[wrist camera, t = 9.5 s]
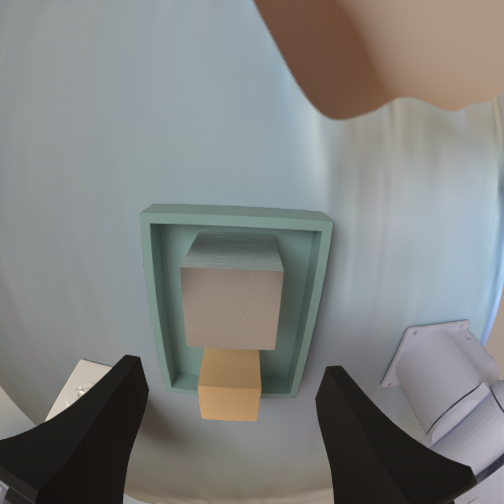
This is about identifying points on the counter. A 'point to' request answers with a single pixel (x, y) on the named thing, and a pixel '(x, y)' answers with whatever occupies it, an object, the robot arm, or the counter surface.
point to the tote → (292, 297)
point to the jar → (78, 384)
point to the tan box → (229, 384)
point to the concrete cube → (232, 290)
